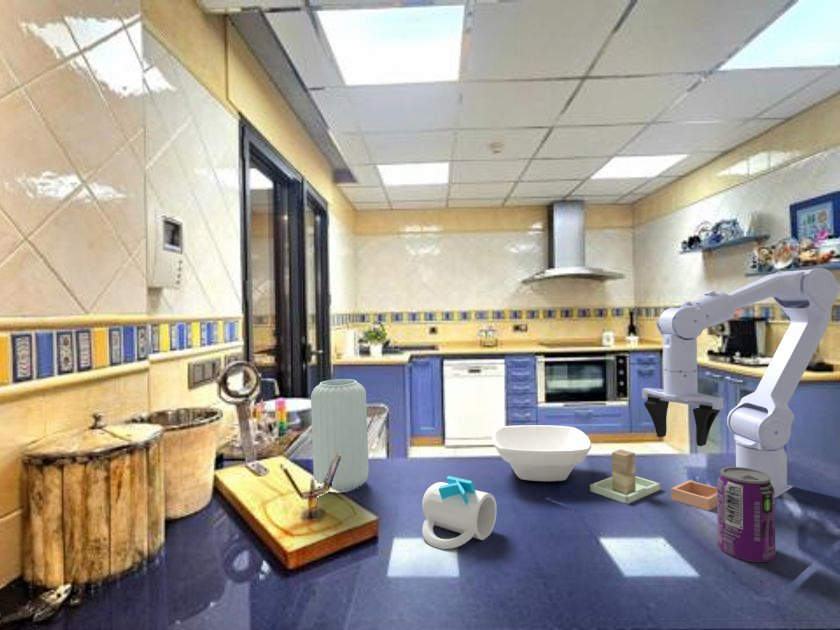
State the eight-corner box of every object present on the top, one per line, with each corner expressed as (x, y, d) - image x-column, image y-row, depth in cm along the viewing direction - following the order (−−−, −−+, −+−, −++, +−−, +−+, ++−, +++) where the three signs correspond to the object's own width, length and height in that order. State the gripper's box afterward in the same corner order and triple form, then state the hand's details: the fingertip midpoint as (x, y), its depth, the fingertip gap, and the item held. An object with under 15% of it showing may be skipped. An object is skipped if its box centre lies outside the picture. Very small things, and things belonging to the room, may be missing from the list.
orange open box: (689, 493, 95) (689, 480, 95) (726, 504, 90) (726, 490, 90) (671, 502, 92) (671, 488, 91) (708, 514, 86) (708, 499, 86)
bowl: (492, 459, 119) (491, 424, 119) (580, 461, 116) (580, 425, 116) (493, 493, 99) (492, 450, 98) (600, 495, 96) (599, 451, 96)
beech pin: (621, 486, 98) (620, 449, 98) (635, 491, 96) (634, 452, 96) (612, 490, 96) (611, 452, 96) (626, 494, 94) (625, 455, 94)
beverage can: (785, 569, 68) (784, 483, 68) (729, 565, 70) (728, 481, 70) (761, 544, 75) (760, 466, 75) (710, 541, 77) (709, 464, 76)
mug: (429, 462, 88) (488, 474, 81) (442, 501, 91) (500, 517, 84) (390, 509, 80) (452, 528, 72) (406, 550, 83) (467, 573, 75)
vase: (315, 500, 98) (311, 388, 97) (313, 480, 109) (309, 379, 108) (372, 493, 100) (369, 384, 100) (365, 474, 111) (362, 376, 111)
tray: (623, 480, 103) (622, 472, 103) (660, 492, 96) (660, 483, 96) (590, 493, 96) (589, 484, 96) (627, 507, 90) (627, 497, 90)
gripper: (633, 368, 98) (634, 436, 99) (709, 376, 86) (710, 453, 87) (652, 365, 102) (653, 430, 103) (728, 372, 90) (729, 446, 91)
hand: (680, 440), depth 95 cm, fingers open, 7 cm apart
